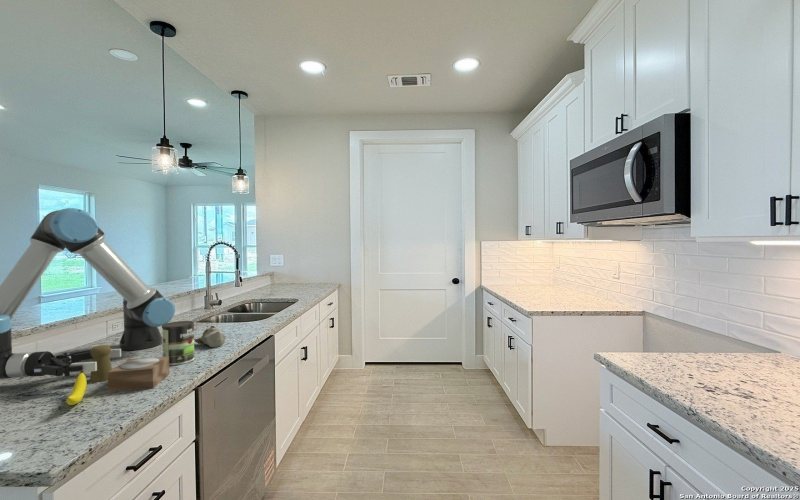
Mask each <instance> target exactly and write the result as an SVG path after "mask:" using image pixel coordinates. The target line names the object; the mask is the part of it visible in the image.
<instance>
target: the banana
mask: <svg viewBox="0 0 800 500" xmlns="http://www.w3.org/2000/svg"><path fill="white" fill-rule="evenodd" d="M79 373H80V374H79V375H78V376H77V378H76V379H75V382H74V385H73V389H72V392H71V394H70V395H68V397H67V399H65V400H66V403H67V405H69V406H74V405H76V404H79V403H80V402H81V401H82V400H83V398H84V395H85V393H86V390H87V385H88V383H87V382H88V381H87V377H86V375H85V374H84V373H85V372H84V371H81V372H79Z"/></svg>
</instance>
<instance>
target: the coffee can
mask: <svg viewBox="0 0 800 500" xmlns="http://www.w3.org/2000/svg"><path fill="white" fill-rule="evenodd" d="M194 325H195V322H194V321H191V320H181V321H180V320H179V321H178V320H177V321H172V322H168V323H167V324H164V325H162V326H161V329H162V330H161V331H162V357H169V366H179V365H184V364H188V363H191V362H192V361H194V360H195V359H196V358H195V340H194V339H195V326H194Z"/></svg>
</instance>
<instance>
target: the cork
mask: <svg viewBox="0 0 800 500" xmlns="http://www.w3.org/2000/svg"><path fill="white" fill-rule="evenodd" d="M111 349H112V348H111V346H110V345H107V344H102V345H97V346H93V347H91V349H90V350H91V352H90V354H91V356H92V357H93V359H91V362H97V371H90V374H89V376H90V378H89V383H90V382H92V384H98V383H97V382H99V383H103V382H106V381H107V382H108V372H109V371H110V370H112V369H113V367H112V364H111V358H110V357H109V354H110V352H111Z"/></svg>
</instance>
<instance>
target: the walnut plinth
mask: <svg viewBox="0 0 800 500" xmlns="http://www.w3.org/2000/svg"><path fill="white" fill-rule="evenodd" d="M170 374H171V372H170V365H169V357H163V356H159V357H158V356H157V357H156V356H154V357H142V358H141V357H140V358H128V359H126V360H125V361H123V362H121V363H120V364H119V365H117V366H116V367H114V368H112V370H110V371H109V372H108V381H107V392H108V393H113V392H124V391H137V390H149V389H154V388H156V386H158V384H160V383H161V382H162V381H163V380H165V379H166V378H167V377H168V376H170Z"/></svg>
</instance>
